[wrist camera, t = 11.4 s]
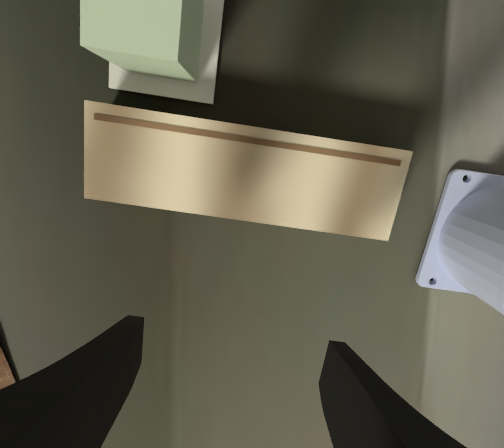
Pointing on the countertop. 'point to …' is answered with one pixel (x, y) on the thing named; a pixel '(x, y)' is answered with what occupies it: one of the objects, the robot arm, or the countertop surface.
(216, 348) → the countertop surface
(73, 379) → the robot arm
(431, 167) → the countertop surface
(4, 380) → the wooden fragment
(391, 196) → the ash board
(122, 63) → the block
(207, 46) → the grey pad
